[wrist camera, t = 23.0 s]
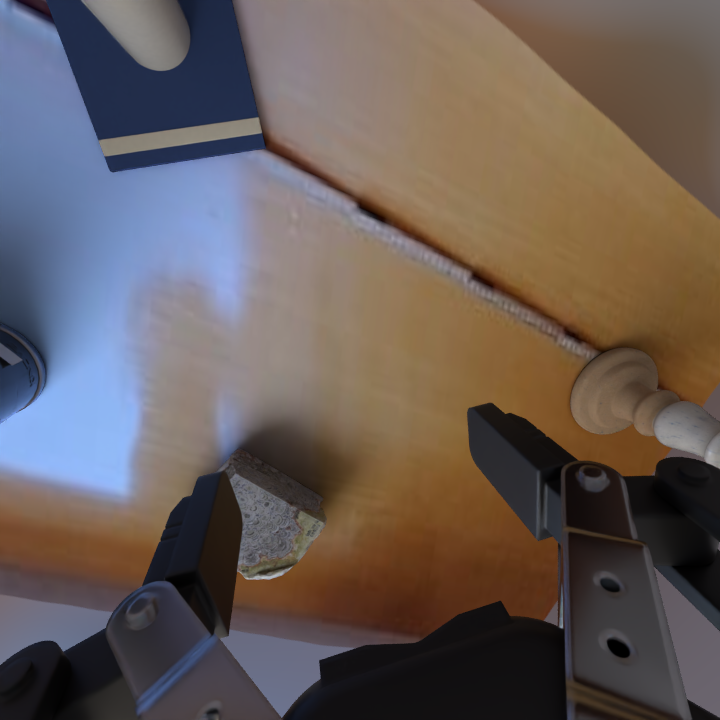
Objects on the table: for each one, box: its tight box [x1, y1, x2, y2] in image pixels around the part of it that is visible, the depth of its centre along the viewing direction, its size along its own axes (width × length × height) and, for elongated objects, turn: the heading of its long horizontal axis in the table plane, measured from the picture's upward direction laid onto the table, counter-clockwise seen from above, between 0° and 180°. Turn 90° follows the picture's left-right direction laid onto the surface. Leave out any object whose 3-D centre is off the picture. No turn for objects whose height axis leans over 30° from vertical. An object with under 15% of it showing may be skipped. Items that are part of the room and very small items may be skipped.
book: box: [46, 0, 266, 172], centre depth 28 cm, size 13×18×1 cm
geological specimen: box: [217, 449, 327, 579], centre depth 43 cm, size 11×6×15 cm
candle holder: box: [570, 348, 720, 469], centre depth 40 cm, size 12×12×20 cm
